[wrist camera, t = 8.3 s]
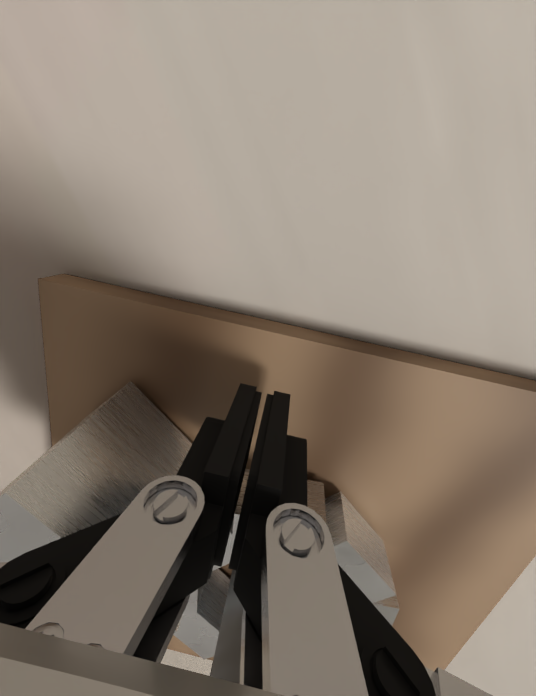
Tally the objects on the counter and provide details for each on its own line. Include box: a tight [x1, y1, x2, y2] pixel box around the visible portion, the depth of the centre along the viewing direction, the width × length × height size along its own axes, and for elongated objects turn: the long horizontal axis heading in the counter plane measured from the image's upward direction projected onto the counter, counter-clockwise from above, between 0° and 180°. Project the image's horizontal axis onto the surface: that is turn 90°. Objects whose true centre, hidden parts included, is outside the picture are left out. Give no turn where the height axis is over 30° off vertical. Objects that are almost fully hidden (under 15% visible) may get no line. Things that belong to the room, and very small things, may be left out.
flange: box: [0, 381, 399, 659], centre depth 11 cm, size 9×14×5 cm, turn 39°
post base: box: [38, 274, 536, 684], centre depth 12 cm, size 20×20×7 cm
